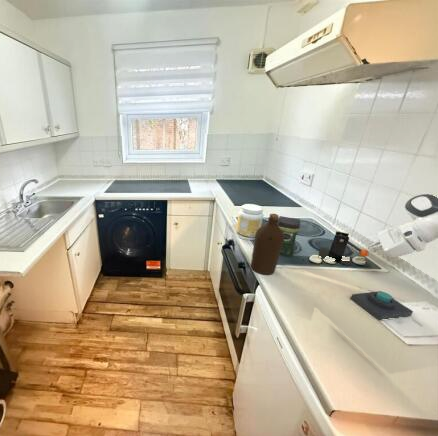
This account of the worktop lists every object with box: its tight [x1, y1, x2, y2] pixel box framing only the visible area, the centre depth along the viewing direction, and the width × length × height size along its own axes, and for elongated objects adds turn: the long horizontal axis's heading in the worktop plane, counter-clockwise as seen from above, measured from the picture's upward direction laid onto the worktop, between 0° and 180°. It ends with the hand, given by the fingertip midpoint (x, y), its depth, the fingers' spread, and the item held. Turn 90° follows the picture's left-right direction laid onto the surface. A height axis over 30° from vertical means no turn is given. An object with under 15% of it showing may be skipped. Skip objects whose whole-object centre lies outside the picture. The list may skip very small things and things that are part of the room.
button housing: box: [349, 290, 414, 321], centre depth 80 cm, size 12×10×4 cm
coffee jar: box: [277, 215, 301, 258], centre depth 110 cm, size 10×8×19 cm
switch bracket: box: [318, 230, 353, 267], centre depth 106 cm, size 12×9×13 cm
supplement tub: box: [235, 203, 264, 241], centre depth 128 cm, size 12×12×17 cm
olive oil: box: [250, 213, 284, 276], centre depth 97 cm, size 11×11×25 cm
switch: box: [339, 233, 370, 258], centre depth 103 cm, size 13×3×3 cm, turn 55°
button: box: [376, 290, 393, 303], centre depth 79 cm, size 4×4×2 cm
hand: (368, 249), depth 100 cm, fingers closed
